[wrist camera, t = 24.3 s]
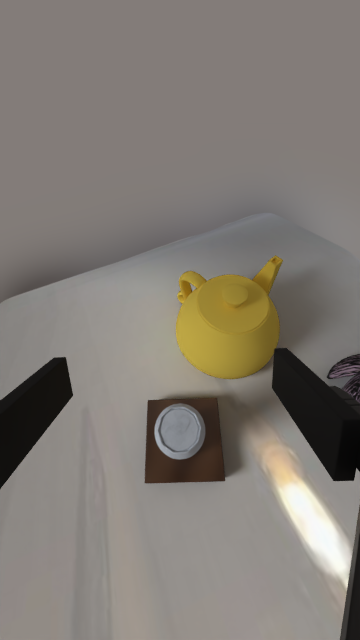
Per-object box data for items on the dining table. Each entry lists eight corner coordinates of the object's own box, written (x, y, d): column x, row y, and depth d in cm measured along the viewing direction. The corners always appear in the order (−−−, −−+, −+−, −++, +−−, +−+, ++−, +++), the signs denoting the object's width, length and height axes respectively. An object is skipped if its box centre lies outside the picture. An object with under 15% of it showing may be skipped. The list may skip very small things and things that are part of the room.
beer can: (158, 444, 32) (142, 438, 21) (177, 411, 34) (171, 391, 23) (189, 466, 30) (188, 472, 20) (207, 431, 32) (215, 419, 22)
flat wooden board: (147, 481, 32) (144, 483, 30) (150, 403, 37) (147, 400, 35) (223, 479, 32) (225, 481, 30) (215, 401, 37) (216, 397, 34)
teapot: (232, 405, 36) (249, 382, 25) (148, 330, 43) (133, 286, 32) (302, 320, 43) (340, 273, 32) (219, 267, 50) (227, 213, 39)
